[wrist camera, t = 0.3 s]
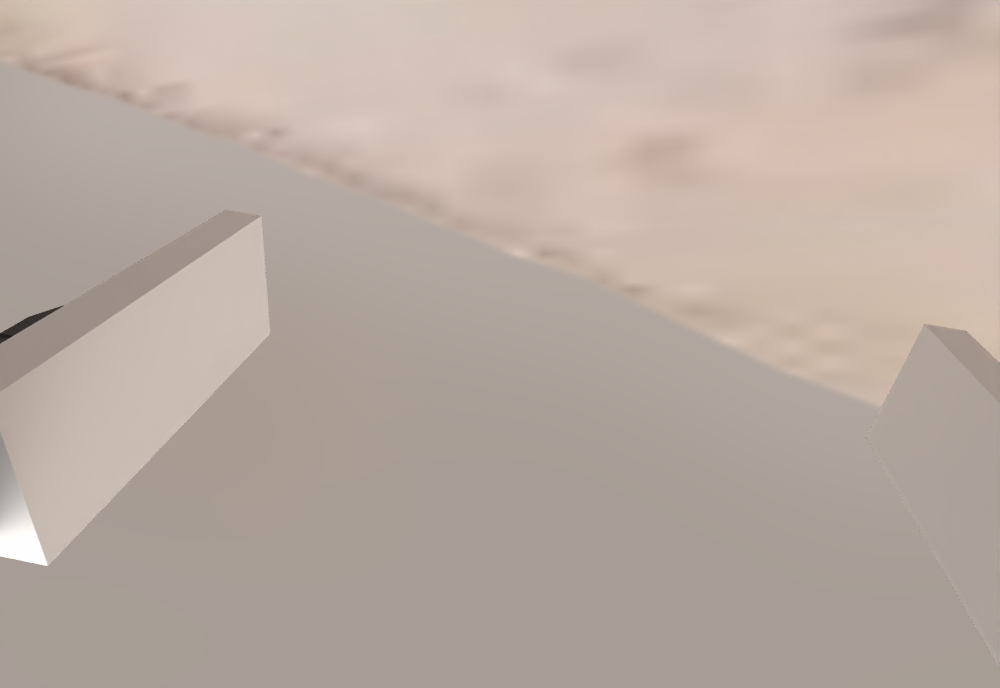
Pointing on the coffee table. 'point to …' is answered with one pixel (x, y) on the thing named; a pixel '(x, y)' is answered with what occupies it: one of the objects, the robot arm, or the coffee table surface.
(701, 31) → the coffee table surface
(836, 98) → the coffee table surface
